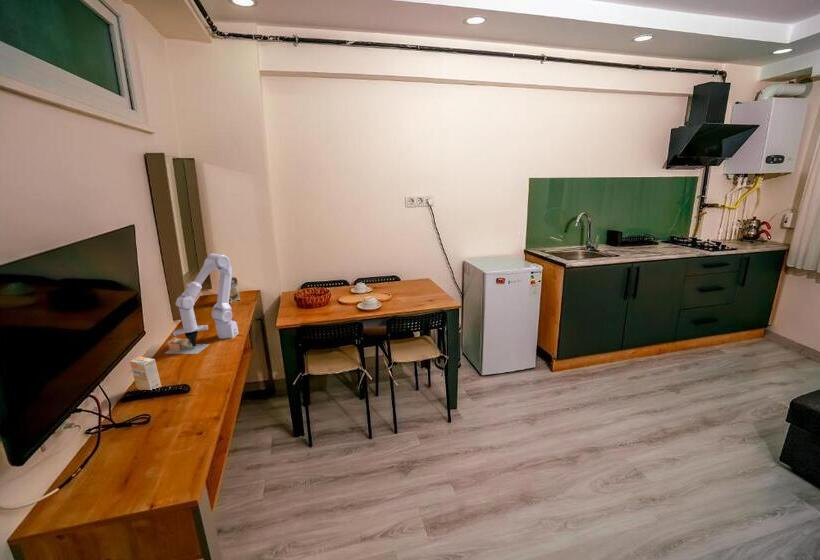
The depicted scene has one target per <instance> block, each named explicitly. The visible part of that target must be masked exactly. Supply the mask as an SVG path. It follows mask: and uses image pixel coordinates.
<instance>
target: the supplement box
mask: <svg viewBox="0 0 820 560" xmlns="http://www.w3.org/2000/svg"><path fill="white" fill-rule="evenodd" d="M129 364H130V367H131V371H132V375H133V378H134V381H135V382H134V383H135V385H136V386H135V387H136V389H137V390H139V391H142V390H152V389H156V388H159V387H161V388H162V383H161V379H160V375H159V371H158V368H157V367H158V366H157V363H156V359H155V358H152V357H146V356H142V355H139V356H138V357H135V358H133V359H132V360H130V361H129ZM159 389H160V388H159Z"/></svg>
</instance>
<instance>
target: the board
mask: <svg viewBox="0 0 820 560" xmlns="http://www.w3.org/2000/svg"><path fill="white" fill-rule="evenodd" d="M210 344H211V343H196V346H194V347H191V348H190V349H181V350H180V351H173V350H169V349H168V350H167V351H165V352H164V354H171V355H173V354H177V355H179V354H184V355H186V354H187V355H189V354H190V355H193V354H194V355H196V354H197V355H198V354H200V353H201V352H202V351H203V350H204V349H206V348H208V346H209V345H210Z"/></svg>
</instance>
